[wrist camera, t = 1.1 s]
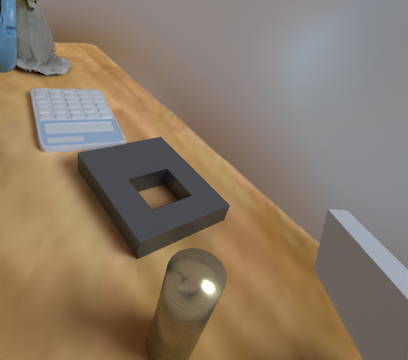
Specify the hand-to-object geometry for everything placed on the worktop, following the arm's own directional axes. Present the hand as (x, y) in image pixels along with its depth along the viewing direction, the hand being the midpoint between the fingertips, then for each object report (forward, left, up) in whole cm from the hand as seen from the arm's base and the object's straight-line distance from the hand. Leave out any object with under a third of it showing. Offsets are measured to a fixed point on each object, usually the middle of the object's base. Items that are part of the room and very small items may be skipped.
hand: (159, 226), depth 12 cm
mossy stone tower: (-67, +14, -22) cm, 72 cm away
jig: (-20, +15, -21) cm, 33 cm away
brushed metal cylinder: (-1, +6, -21) cm, 22 cm away
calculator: (-43, +13, -22) cm, 50 cm away
